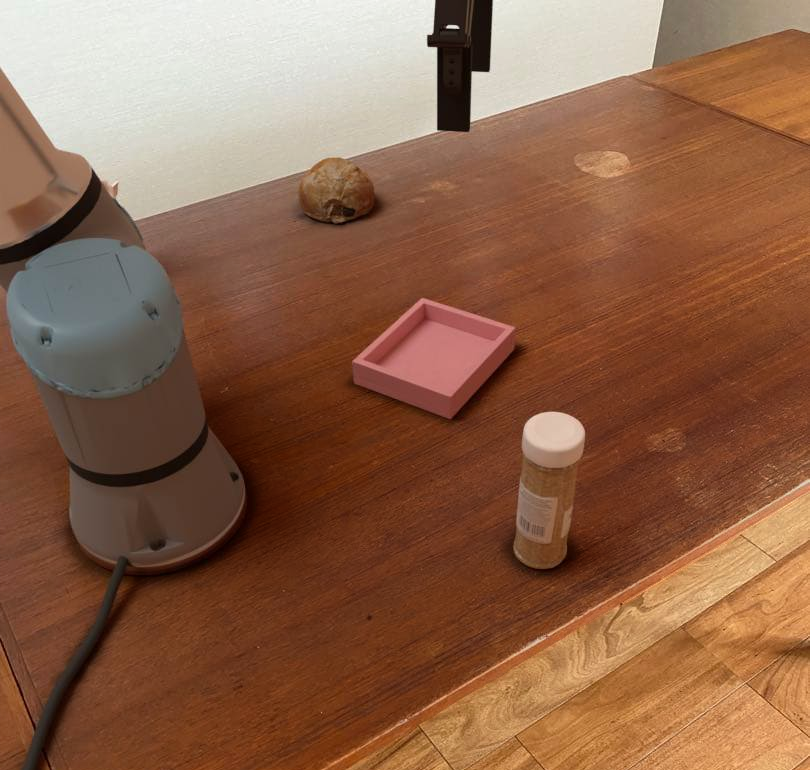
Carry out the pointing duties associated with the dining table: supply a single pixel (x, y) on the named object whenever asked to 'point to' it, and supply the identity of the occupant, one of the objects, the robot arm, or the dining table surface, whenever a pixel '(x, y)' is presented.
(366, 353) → the pink tray
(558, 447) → the spice jar
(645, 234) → the dining table surface
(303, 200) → the bread roll
